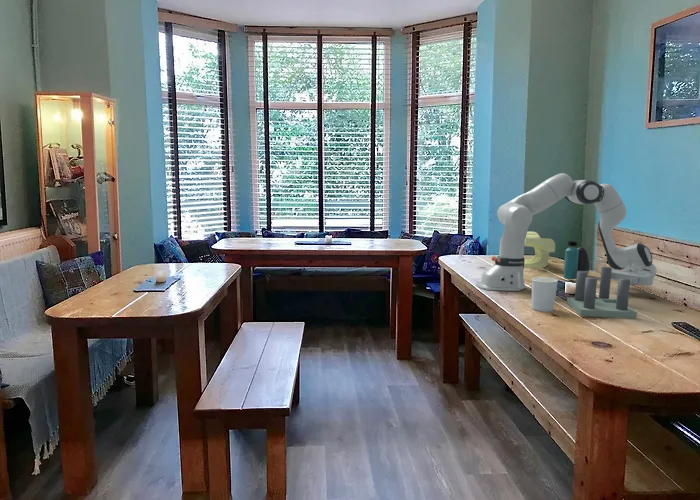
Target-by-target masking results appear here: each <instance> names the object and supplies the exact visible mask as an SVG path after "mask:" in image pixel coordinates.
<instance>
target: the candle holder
mask: <svg viewBox="0 0 700 500" xmlns="http://www.w3.org/2000/svg"><path fill="white" fill-rule="evenodd" d="M558 281H559V280H558V279H556V278H553V277H545V276H544V277H543V276H535V277H532V278H531V309H532V310H533V311H537V312H541V313H542V312H543V313H546V312H547V313H550V312H553V311H554V310H555V309H554V308H555V303H556V297H557V288H558Z"/></svg>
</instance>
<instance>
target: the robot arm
mask: <svg viewBox="0 0 700 500" xmlns="http://www.w3.org/2000/svg"><path fill="white" fill-rule="evenodd" d="M563 198H565V199H566V200H567V201H569V202H571V204H578V205H592V204H593V205H594V207H595V208H596V211H597V212H598V214H599V218H600V219H599V221H598V222H597V227H598V232H599V235H600V238H601V241H602V245H603V248H604V251H605V254H606V260H607V264H608V266H609V267H610V268H612V272H611V280H615V281H618V280H619V279H620V278H623V279H629V280H630V286H638V285H639V286H640V285H641V286H649V287H650V286H652V285H653V282H654V278H655V277H656V275H657V268H656V266H655V265H654V263H653V255H652V252H651V249H650V248H649V247H648V246H646V245H644V244H643V243H641V242H638V243H635V244H632V245H628V246H624V247H619V248H618V247H617V246H616V244H615V240H614V237H613V230H614V229H615V228H616V227H617V226H618V225H620V224H621V223H622V222H623V220H625V219H626V215H627V209H626V205H625V203H624V202H623V200H622V198H621V197H620V195H619V193H618V192H617V190H615V188H614V187H613V185H611V184H610V183H601V184H599V183H598V182H596V181H594V180H589V179H576V180H573V179H572V177H571V176H570V175H569V174H568V173H564V172H561V173H557V174H555V175H553V176H551V177H549V178H547V179H545V180H544V181H542V182H541V183H539V184H538V185H536V186H535V187H533V188H532V189H530V190H528V191H527V192H525V193H522V194H521V195H518V196H516V197H515V198H513V199H511V200H510V201H508V202H506V203H504V204H502V205H500V206H499V207H498V208H497V211H496V216H497V218H498V221H499V222H500V223H501V224H502V225H504V227H503V232H502V234H501V235H502V236H501V238H500V239H499V253H498V256H491V261H492V262H494V264H493V265H492V266H490V267H488V268H487V269H486V270H484V271H483V272H482V274H481V278H480V281H477V282H476V283H475V286H476V287H478V288H480V289H482V290H486V291H504V292H505V291H509V292H511V291H513V292H517V291H518V292H520V291H521V290H525V289H526V284H525V277H524V276H525V275H524V269H525V268H524V261H525V260H526V259H525V247H526V246H525V238H526V234H527V232H529V231H528V230H529V227H530V225H531V223H532V221H533V216H534V215H536V214H539V213H542V212H544V211H545V210H546V209H548V208H550V207H552V206H553V205H555V204H556V203H557V202H558V201H560V200H562V199H563Z"/></svg>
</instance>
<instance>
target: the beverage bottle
mask: <svg viewBox="0 0 700 500" xmlns="http://www.w3.org/2000/svg"><path fill="white" fill-rule="evenodd" d="M567 243H568V244H567V246H570V247H567V248H566V249H565V250H564V251H565V252H564V263H563V274H562V275H563V278H564V279H566V280H576V277H577V270H578V254H579V250H578V249H577V248H578V247H577V246H578V241H575V240H568V241H567Z"/></svg>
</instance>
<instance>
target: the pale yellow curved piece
mask: <svg viewBox="0 0 700 500" xmlns="http://www.w3.org/2000/svg"><path fill="white" fill-rule="evenodd" d="M524 247H531V248H533V249H534V253H535V254H534V257H533V258H529V259H525V261H524V269H527V268H528V269H529V268H530V269H532V268H534V269H536V268H537V269H543V268H546V267H547V266H548V264H549V259H550V253H556V242H555V241H554V239H552V238H550V237H549V238H546V237H545V238H544V237H541V236H540V235H539V233H538V232H537V231H527V234H526V238H525V246H524Z"/></svg>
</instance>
